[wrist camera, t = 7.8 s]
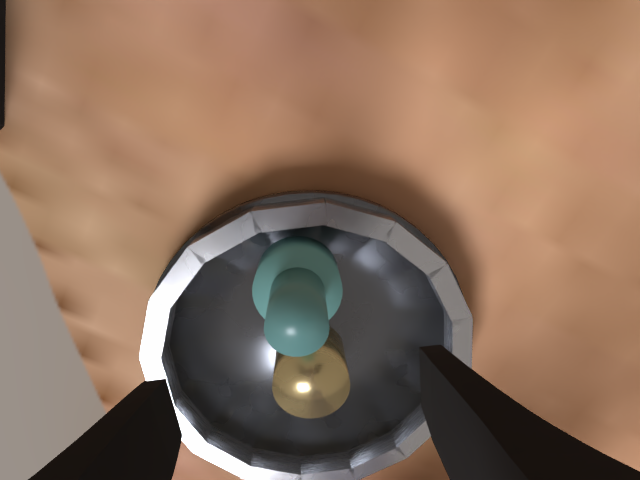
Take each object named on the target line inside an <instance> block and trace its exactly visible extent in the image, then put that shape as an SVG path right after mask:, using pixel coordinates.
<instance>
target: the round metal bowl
mask: <svg viewBox="0 0 640 480" xmlns="http://www.w3.org/2000/svg"><path fill="white" fill-rule="evenodd" d="M291 236H305V237H310V238H313V239H315V240H317V241H319V242H321V243H322V244H324V245H325V246H326V247H327V248H328V249H329V250H330V251H331V252H332V254H333V255H334V257H335V259H336V262H337V266H338V270H339V274H340V278H341V282H342V288H343V293H342V300H341V303H340V306H339V308H338V310H337V311H336V313H335V314H334V315H333V316H332V318H331V319H330V320H329V335H328V338H327V340H326V342H325V343H324V344H323V346H322V347H321V348H320V349H318V350H317V351H315V352H314V353H312V354H309V355H306V356H301V357H292V356H286V355H283V354H281V353H279V352H277V351H276V350H275V349H273V348H272V347H271V346H270V344H269V343H268V342H267V340H266V337H265V334H264V322H265V319H264V318H263V317H262V316H261V315H260V313H259V312H258V310H257V308H256V306H255V304H254V301H253V296H252V287H253V281H254V278H255V274H256V271H257V268H258V264H259V261H260V259H261V257H262V255H263V253H264V252H265V251H266V250H267V249H268V248H269V247H270V246H271V245H272V244H273V243H275V242H277V241H278V240H281V239H283V238H286V237H291ZM472 329H473V316H472V314H471V312H470V310H469V308H468V306H467V304H466V302H465V299H464V297H463V294H462V291H461V289H460V286H459V284H458V281H457V278H456V276H455V275H454V273H453V271H452V269H451V267H450V266H449V264H448V262H447V261H446V259H445V258H444V257H443V255H442V254H441V253H440V252H439V250H438V249H437V248H436V247H435V245H434V244H433V243H432V242H431V241H430V240H429V239H428V238H427V237H425V236H424V235H423V234H422V233H421V232H420V231H419V230H418V229H417V228H416V227H415V226H414V225H412V224H411V223H409V222H408V221H407V220H405V219H404V218H402V217H401V216H400V215H398V214H397V213H395V212H393V211H391V210H389V209H387V208H385V207H383V206H381V205H379V204H377V203H374V202H371V201H368V200H366V199H363V198H360V197H357V196H352V195H348V194H343V193H338V192H331V191H317V190H304V191H288V192H282V193H277V194H272V195H266V196H263V197H260V198H257V199H254V200H251V201H248V202H245V203H242V204H240V205H238V206H236V207H234V208H232V209H230V210H228V211H226V212H224V213H222V214H221V215H219V216H218V217H216V218H215V219H213V220H212V221H210V222H209V223H207V224H206V225H204V226H203V227H202V228H201V229H200V230H199V231H198V232H197V233H195V234H194V235H193V236H192V237H191V238H190V239H189V240H188V241H187V242H186V243H185V244H184V245H183V247H182V248H181V249H180V250H179V251H178V252H177V254H176V255H175V256H174V257H173V258H172V260H171V261H170V263H169V264H168V266H167V267H166V269H165V271H164V272H163V274H162V276H161V277H160V279H159V281H158V284H157V286H156V289H155V291H154V293H153V295H152V296H151V297H150V299H149V302H148V308H147V314H146V320H145V326H144V332H143V338H142V344H141V350H140V356H139V359H140V362H141V365H142V369H143V372H144V375H145V378H146V381H149V380H157V379H165V378H166V380H167V384H168V387H169V391H170V394H171V397H172V401H173V404H174V408H175V411H176V414H177V418H178V421H179V425H180V428H181V431H182V441H183V442H184V443H185V444H186V445H187V447H188V448H189V449H190V450H191V451H192V452H194V454H196V455H198V456H200V457H202V458H204V459H206V460H208V461H210V462H212V463H214V464H216V465H217V466H219V467H221V468H223V469H225V470H227V471H229V472H231V473H233V474H235V475H237V476H239V477H240V478H242V479H243V478H244V479H247V480H360V479H362V478H364V477H366V476H369V475H371V474H373V473H375V472H377V471H380V470H382V469H384V468H386V467H389V466H391V465H393V464H395V463H397V462H400V461H402V460H404V459H406V457H407V458H408V457H409V456H410V455H411V454H412V453H413V452H414V451H416V450H417V449H418V448H419V447H420V446H421V445H422V444H423V443H424V442H425V441H426V440H427V439H429V438H430V437H431V435H430V432H429V429H428V426H427V423H426V419H425V416H424V413H423V410H422V407H421V390H420V358H419V347H424V346H432V345H440V344H441V345H442V346H443V347H445V348H446V349H447V350H448V351H450V352H451V353H452V354H453V355H455V356H456V357H457V358H458V359H460V360H461V361H462V362H463V363H465V364H466V365H467V366H468V367H470V368H471V369H472Z"/></svg>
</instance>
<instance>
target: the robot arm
mask: <svg viewBox="0 0 640 480" xmlns="http://www.w3.org/2000/svg"><path fill="white" fill-rule="evenodd" d="M419 358H420V390H421V407H422V410H423V413H424V416H425V419H426V423H427V426H428V429H429V432H430V435H431V437H432V440H433V443H434V445H435V447H436V450H437V452H438V454H439V456H440V458H441V461H442V463H443V465H444V467H445V469H446V472H447V474H448V476H449V478H450V480H640V472H639V471H637V470H635V469H633V468H631V467H629V466H627V465H625V464H623V463H621V462H619V461H617V460H615V459H613V458H611V457H609V456H607V455H605V454H603V453H601V452H600V451H598V450H596V449H594V448H592V447H590V446H588V445H586V444H585V443H583V442H581V441H579V440H578V439H576V438H574V437H572V436H571V435H569V434H567V433H565V432H564V431H562V430H560V429H558V428H557V427H555V426H553V425H552V424H550V423H548V422H547V421H545V420H543V419H542V418H540V417H539V416H537V415H536V414H534V413H533V412H531V411H530V410H528V409H526V408H525V407H523V406H522V405H520V404H519V403H517V402H516V401H514V400H513V399H512V398H510V397H509V396H507V395H506V394H504V393H503V392H502V391H500V390H499V389H497V388H496V387H495V386H493V385H492V384H491V383H489V382H488V381H487V380H485V379H484V378H483V377H481V376H480V375H479V374H477V373H476V372H475V371H474V370H472V369H471V368H470V367H468V366H467V365H466V364H465V363H463V362H462V361H461V360H460V359H458V358H457V357H456V356H455V355H453V354H452V353H451V352H450V351H448V350H447V349H446V348H445V347H443V346H442V345H441V344H440V345H432V346H424V347H419ZM181 440H182V431H181V428H180V425H179V421H178V418H177V414H176V411H175V408H174V404H173V401H172V397H171V394H170V391H169V387H168V384H167V380H166V378H165V379H157V380H149V381H144V382H143V383H141V384H140V385H139V386H138V387H136V388H135V389H134V390H133V391H132V392H130V393H129V394H128V395H127V396H126V397H125V398H124V399H122V400H121V401H120V402H119V403H118V404H117V405H116V406H115V407H113V408H112V409H111V410H110V411H109V412H108V413H107V414H106V415H104V416H103V417H102V418H101V419H100V420H99V421H98V422H96V423H95V424H94V425H93V426H92V427H91V428H90V429H89V430H87V431H86V432H85V433H84V434H83V435H82V436H81V437H79V438H78V439H77V440H76V441H75V442H74V443H72V444H71V445H70V446H69V447H67V448H66V449H65V450H64V451H63V452H61V453H60V454H59V455H58V456H57V457H55V458H54V459H53V460H52V461H51V462H49V463H48V464H47V465H46V466H45V467H44V468H42V469H41V470H40V471H39V472H37V473H36V474H35V475H34V476H32V477H31V478H30V479H28V480H171V479H172V476H173V473H174V469H175V465H176V461H177V457H178V453H179V449H180V444H181Z"/></svg>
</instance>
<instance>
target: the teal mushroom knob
mask: <svg viewBox="0 0 640 480" xmlns="http://www.w3.org/2000/svg"><path fill="white" fill-rule="evenodd" d="M342 293H343V288H342V282H341V278H340V274H339V270H338V266H337V262H336V259H335V257H334V255H333V254H332V252H331V251H330V250H329V249H328V248H327V247H326V246H325V245H324V244H322V243H321V242H319V241H317V240H315V239H313V238H310V237H305V236H291V237H286V238H283V239H281V240H278V241H277V242H275V243H273V244H272V245H271V246H270V247H269V248H268V249H267V250H266V251H265V252H264V253H263V255H262V257H261V259H260V261H259V264H258V268H257V271H256V274H255V278H254V281H253V287H252V296H253V301H254V304H255V306H256V308H257V310H258V312H259V313H260V315H261V316H262V317H263V318H264V319H265V322H264V334H265V337H266V340H267V342H268V343H269V344H270V346H271V347H272V348H273V349H275V350H276V351H277V352H279V353H281V354H283V355H286V356H292V357H301V356H306V355H309V354H312V353H314V352H315V351H317V350H318V349H320V348H321V347H322V346H323V344H324V343H325V342H326V340H327V338H328V335H329V320H330V319H331V318H332V316H333V315H334V314H335V313H336V311H337V310H338V308H339V306H340V303H341V300H342Z"/></svg>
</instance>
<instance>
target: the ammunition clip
mask: <svg viewBox="0 0 640 480" xmlns="http://www.w3.org/2000/svg"><path fill="white" fill-rule="evenodd" d="M5 16H6V0H0V129H2V128H3V127H4V103H5Z"/></svg>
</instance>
